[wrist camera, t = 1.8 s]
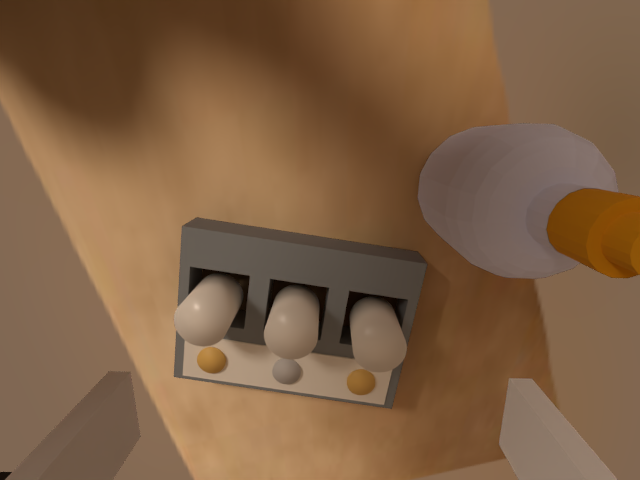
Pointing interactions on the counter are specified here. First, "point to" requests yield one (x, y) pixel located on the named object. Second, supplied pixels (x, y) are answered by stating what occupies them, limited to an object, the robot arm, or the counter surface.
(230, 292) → the button
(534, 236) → the soap bottle
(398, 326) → the button
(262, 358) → the board
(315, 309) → the button
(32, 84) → the counter surface
